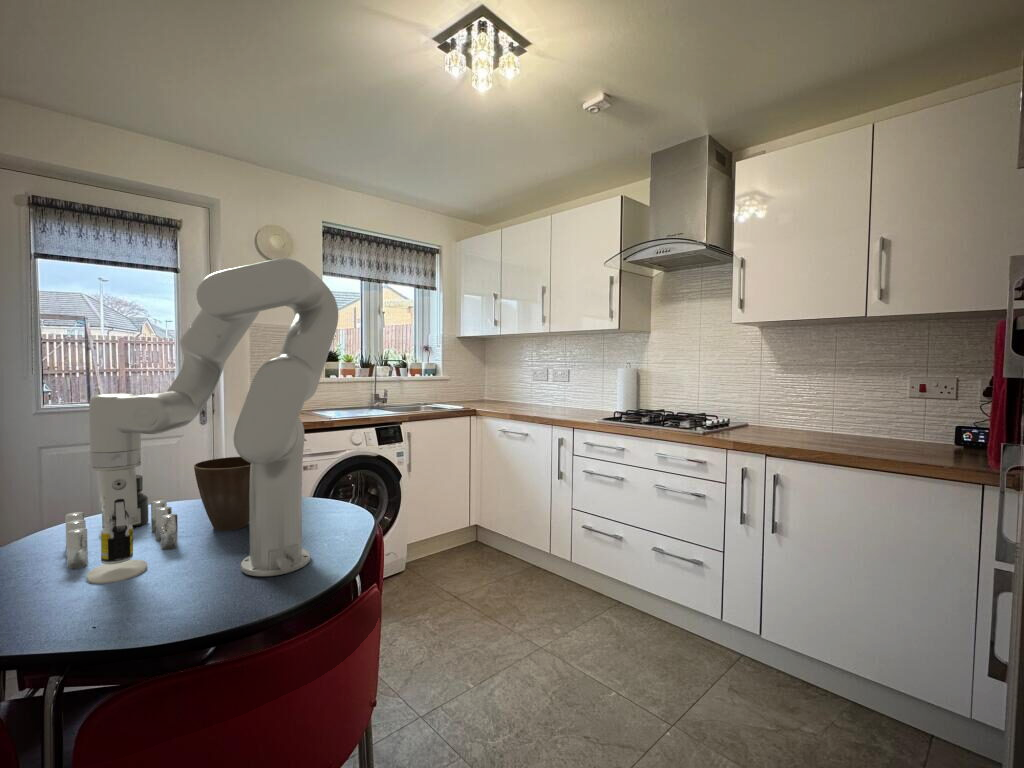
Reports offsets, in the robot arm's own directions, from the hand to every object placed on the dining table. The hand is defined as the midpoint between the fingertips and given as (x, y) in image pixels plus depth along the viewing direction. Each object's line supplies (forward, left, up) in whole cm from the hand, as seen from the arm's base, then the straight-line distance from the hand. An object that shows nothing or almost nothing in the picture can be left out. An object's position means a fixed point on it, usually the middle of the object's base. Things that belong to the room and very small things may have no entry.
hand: (117, 552), depth 95 cm
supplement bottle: (0, 0, -2) cm, 2 cm away
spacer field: (+16, -2, -4) cm, 17 cm away
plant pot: (+16, -23, -4) cm, 28 cm away
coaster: (0, 0, -4) cm, 4 cm away
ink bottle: (+32, -4, -4) cm, 33 cm away
